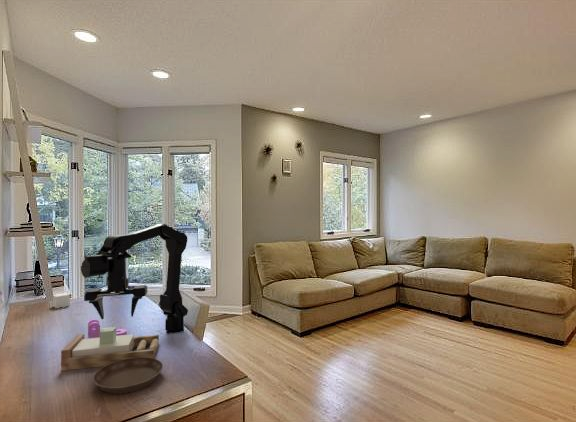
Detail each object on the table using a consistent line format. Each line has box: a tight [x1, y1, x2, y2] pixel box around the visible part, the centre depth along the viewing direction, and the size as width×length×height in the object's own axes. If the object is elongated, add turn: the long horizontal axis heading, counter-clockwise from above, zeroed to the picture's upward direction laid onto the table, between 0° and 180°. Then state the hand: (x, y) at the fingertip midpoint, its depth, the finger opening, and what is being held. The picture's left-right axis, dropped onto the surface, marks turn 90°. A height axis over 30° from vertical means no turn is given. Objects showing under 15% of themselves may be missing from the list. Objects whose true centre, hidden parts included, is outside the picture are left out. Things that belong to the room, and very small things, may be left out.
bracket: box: [87, 318, 128, 339], centre depth 128 cm, size 13×6×7 cm, turn 123°
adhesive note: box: [52, 292, 71, 309], centre depth 171 cm, size 6×6×6 cm
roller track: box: [60, 333, 160, 371], centre depth 111 cm, size 26×14×6 cm, turn 105°
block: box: [100, 326, 117, 344], centre depth 110 cm, size 4×4×4 cm
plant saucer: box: [92, 357, 164, 395], centre depth 94 cm, size 18×18×3 cm
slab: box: [72, 333, 135, 358], centre depth 110 cm, size 16×10×2 cm, turn 107°
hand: (117, 317), depth 114 cm, fingers open, 9 cm apart
